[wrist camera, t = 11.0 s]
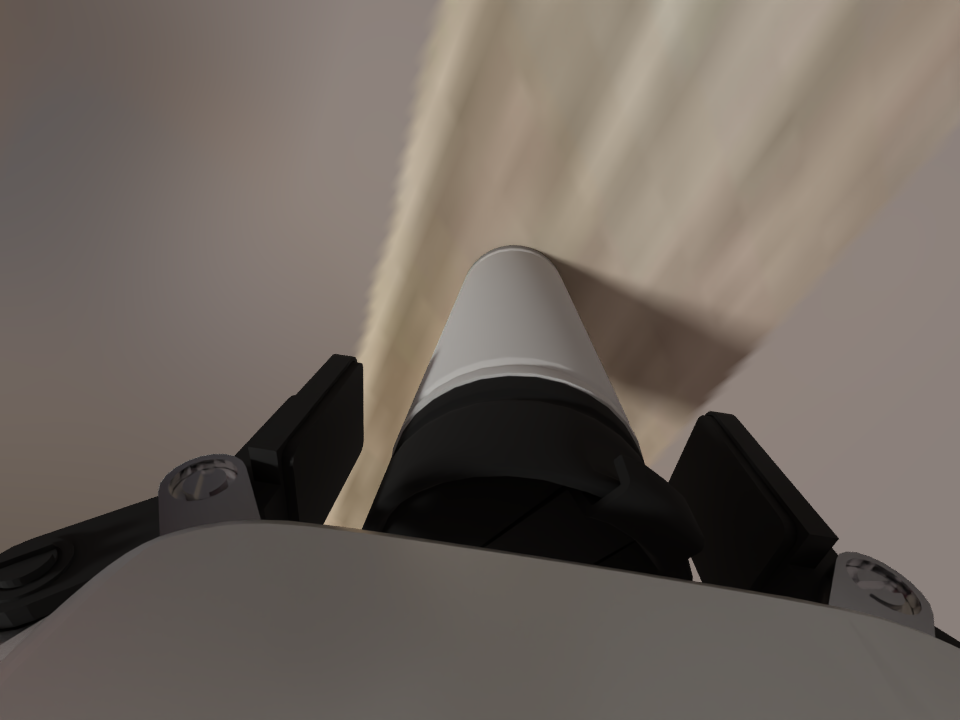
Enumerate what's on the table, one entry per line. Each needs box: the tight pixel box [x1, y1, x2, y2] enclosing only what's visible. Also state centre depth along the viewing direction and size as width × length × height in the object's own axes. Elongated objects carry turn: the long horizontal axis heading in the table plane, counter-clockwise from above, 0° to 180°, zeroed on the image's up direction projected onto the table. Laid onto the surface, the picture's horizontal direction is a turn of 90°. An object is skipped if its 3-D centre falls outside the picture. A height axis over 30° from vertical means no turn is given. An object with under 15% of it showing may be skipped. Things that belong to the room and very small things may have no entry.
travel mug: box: [362, 245, 705, 581], centre depth 16 cm, size 6×7×20 cm
